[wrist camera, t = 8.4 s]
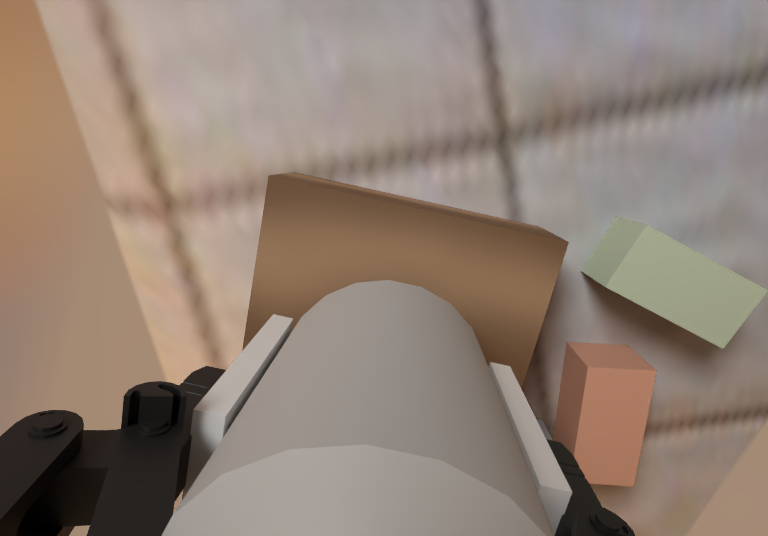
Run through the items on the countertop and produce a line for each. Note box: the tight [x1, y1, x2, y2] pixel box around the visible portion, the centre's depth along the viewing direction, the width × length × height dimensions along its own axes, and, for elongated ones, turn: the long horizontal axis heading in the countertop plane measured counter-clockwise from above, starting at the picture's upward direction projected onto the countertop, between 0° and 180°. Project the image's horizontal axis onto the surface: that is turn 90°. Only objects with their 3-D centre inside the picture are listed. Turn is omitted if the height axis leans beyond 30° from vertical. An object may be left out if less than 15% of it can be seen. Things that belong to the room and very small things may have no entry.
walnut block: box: [242, 172, 569, 389], centre depth 21 cm, size 12×12×4 cm
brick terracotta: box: [553, 342, 657, 487], centre depth 23 cm, size 6×3×3 cm, turn 178°
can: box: [162, 280, 554, 536], centre depth 12 cm, size 8×8×12 cm
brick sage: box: [581, 216, 768, 349], centre depth 21 cm, size 6×3×3 cm, turn 63°
